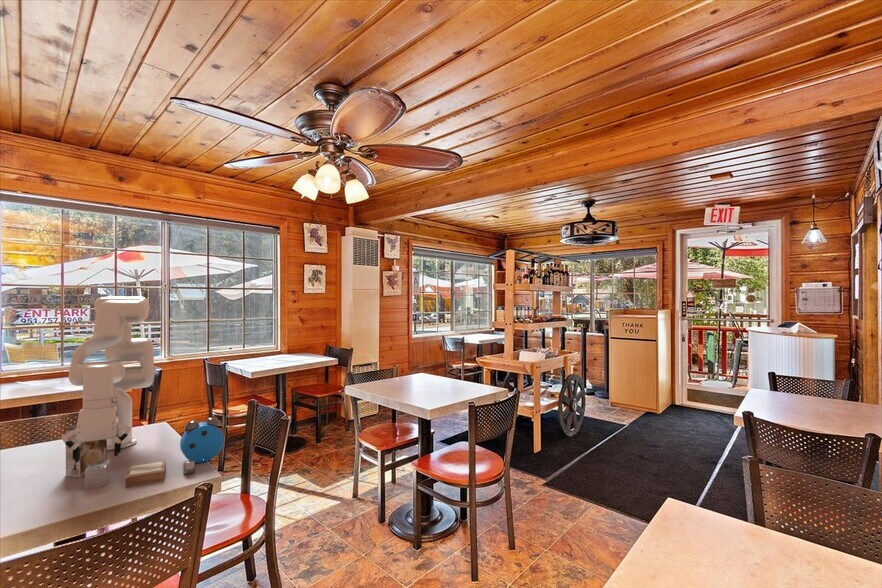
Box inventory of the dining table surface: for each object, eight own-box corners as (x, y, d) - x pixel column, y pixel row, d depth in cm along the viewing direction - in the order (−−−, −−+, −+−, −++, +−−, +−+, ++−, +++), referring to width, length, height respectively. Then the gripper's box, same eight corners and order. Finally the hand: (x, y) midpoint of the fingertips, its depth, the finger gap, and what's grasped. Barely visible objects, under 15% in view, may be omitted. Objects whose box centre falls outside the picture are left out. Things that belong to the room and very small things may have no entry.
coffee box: (92, 465, 148) (93, 419, 148) (107, 467, 147) (108, 420, 147) (64, 476, 139) (65, 427, 139) (80, 477, 138) (80, 428, 138)
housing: (84, 490, 129) (85, 469, 129) (89, 481, 135) (89, 462, 135) (105, 486, 131) (105, 466, 132) (109, 478, 138) (109, 459, 138)
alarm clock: (219, 453, 159) (220, 414, 159) (224, 458, 154) (224, 417, 154) (179, 462, 150) (179, 420, 151) (182, 467, 146) (183, 424, 146)
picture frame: (129, 475, 139) (129, 465, 139) (165, 469, 144) (165, 460, 144) (125, 487, 130) (125, 476, 130) (163, 480, 136) (163, 470, 136)
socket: (183, 473, 141) (183, 461, 141) (194, 471, 143) (194, 459, 143) (183, 476, 139) (183, 464, 139) (194, 474, 140) (194, 462, 140)
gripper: (133, 398, 141) (132, 450, 140) (65, 404, 132) (64, 460, 132) (130, 402, 135) (129, 456, 134) (58, 409, 126) (57, 467, 125)
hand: (97, 458), depth 133 cm, fingers open, 9 cm apart
